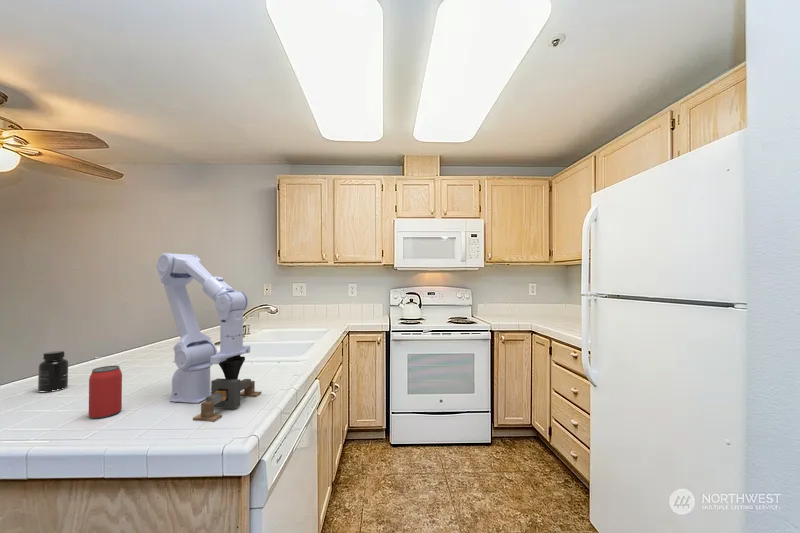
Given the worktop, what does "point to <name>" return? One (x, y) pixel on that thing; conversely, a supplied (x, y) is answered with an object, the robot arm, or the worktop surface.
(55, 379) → the supplement bottle
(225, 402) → the collar
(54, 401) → the worktop surface
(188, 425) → the worktop surface
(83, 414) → the worktop surface
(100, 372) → the beer can
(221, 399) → the square bar stand
